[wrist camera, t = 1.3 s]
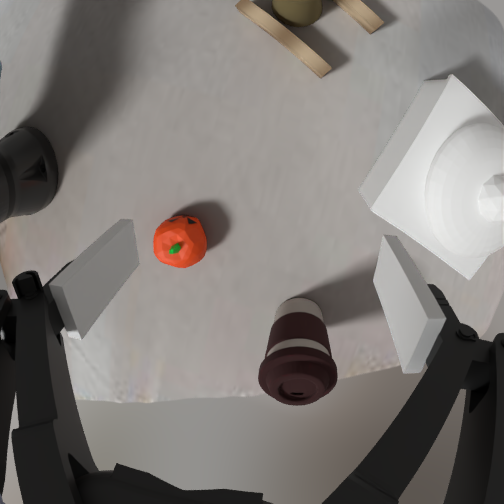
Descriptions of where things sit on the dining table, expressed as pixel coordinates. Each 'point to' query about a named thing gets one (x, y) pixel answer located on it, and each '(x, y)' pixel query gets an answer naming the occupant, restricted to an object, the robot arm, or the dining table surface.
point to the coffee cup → (298, 355)
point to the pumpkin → (180, 241)
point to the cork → (297, 11)
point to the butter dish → (444, 176)
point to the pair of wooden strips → (349, 3)
